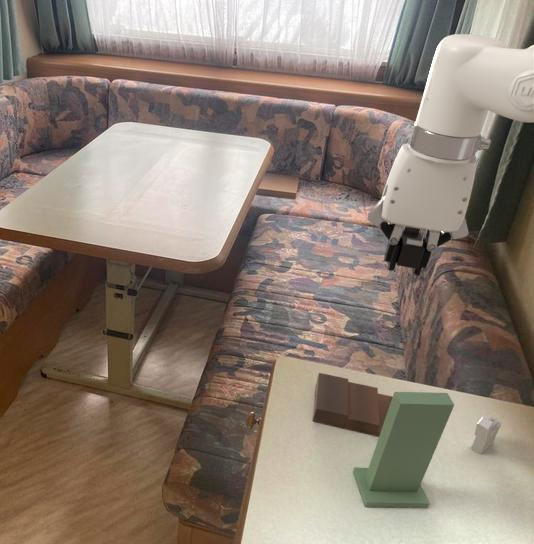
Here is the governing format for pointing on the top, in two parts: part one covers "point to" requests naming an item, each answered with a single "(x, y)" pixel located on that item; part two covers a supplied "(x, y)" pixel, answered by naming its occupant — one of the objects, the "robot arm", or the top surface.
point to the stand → (404, 450)
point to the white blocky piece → (485, 434)
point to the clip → (410, 248)
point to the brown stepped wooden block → (349, 405)
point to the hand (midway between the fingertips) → (403, 267)
